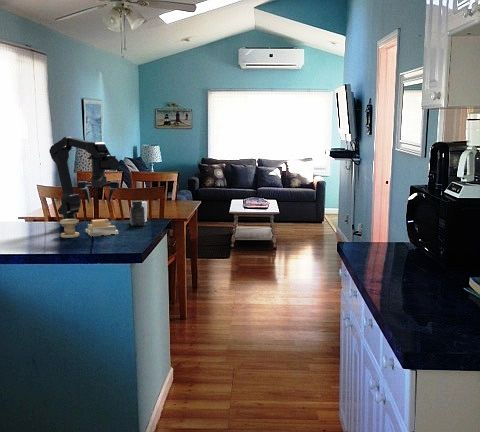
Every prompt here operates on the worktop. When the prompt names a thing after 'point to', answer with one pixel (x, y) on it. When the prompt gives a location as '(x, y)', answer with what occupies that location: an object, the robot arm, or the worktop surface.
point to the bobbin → (69, 228)
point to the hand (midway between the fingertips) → (99, 203)
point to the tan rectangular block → (100, 223)
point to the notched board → (101, 230)
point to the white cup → (144, 204)
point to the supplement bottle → (137, 214)
